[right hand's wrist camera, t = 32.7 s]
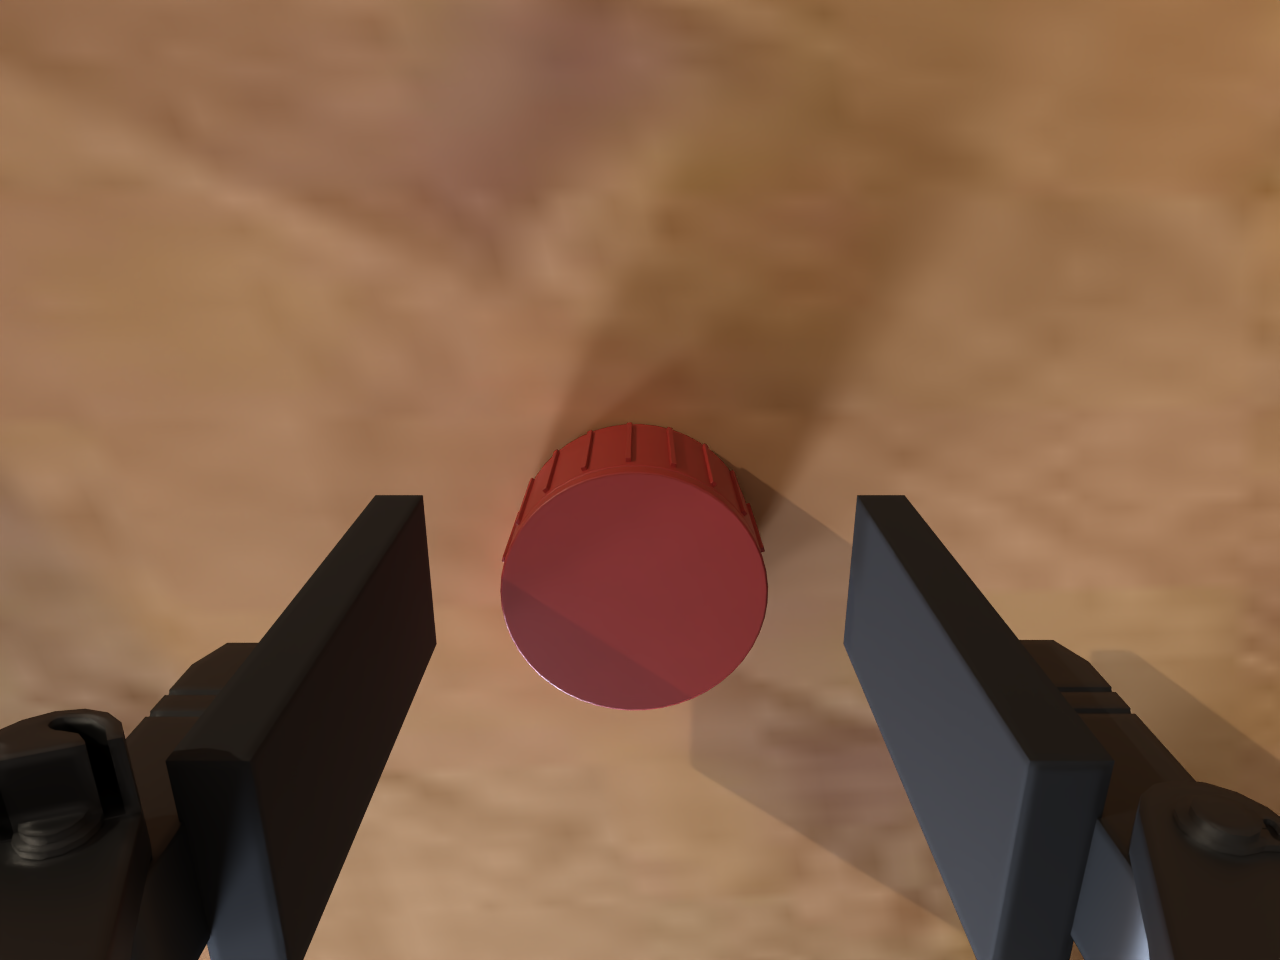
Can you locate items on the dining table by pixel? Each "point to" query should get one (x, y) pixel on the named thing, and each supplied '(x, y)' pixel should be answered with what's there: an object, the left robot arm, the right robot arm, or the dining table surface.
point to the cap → (634, 569)
